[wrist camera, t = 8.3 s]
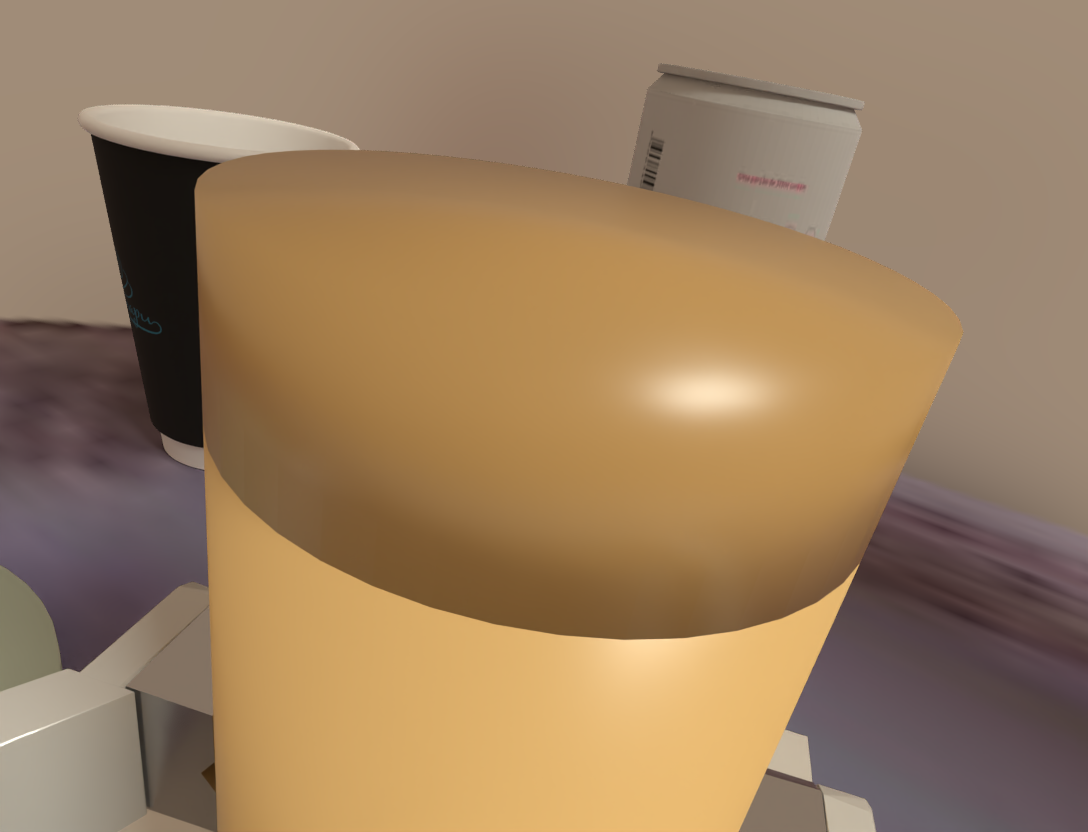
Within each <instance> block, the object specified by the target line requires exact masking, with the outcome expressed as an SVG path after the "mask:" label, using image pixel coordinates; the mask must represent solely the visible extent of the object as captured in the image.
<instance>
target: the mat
mask: <svg viewBox="0 0 1088 832" xmlns="http://www.w3.org/2000/svg"><path fill="white" fill-rule="evenodd" d="M59 671H62V664H61V657H60V651H59V645H58V641H57V637H56V633H55V629H54V625H53V621H52V619H51V618H50V616H49V614H48V612H47V610H46V608H45V606H44V604H43V603H42V601H41V600H40V599H39V597H38V596H37V595H36V594H35V593H34V592H33V591H32V589H31V588H30V587H29V586H28V585H27V584H26V583H25V582H24V581H22V580H21V579H20V578H18V577H17V576H16V575H14V574H13V573H12V572H10V571H9V570H8V569H6V568H4V567H2V566H0V692H1V691H4V690H7V689H10V688H13V687H16V686H18V685H21V684H24V683H27V682H30V681H33V680H36V679H39V678H42V677H45V676H47V675H50V674H53V673H56V672H59Z"/></svg>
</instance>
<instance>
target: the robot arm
mask: <svg viewBox="0 0 1088 832" xmlns="http://www.w3.org/2000/svg"><path fill="white" fill-rule="evenodd" d="M147 809H149V810H152V811H155V812H158V813H161V814H164V815H166V816H169V817H172V818H175V819H178V820H181V821H184V822H187V823H190V824H193V825H196V826H199V827H202V828H205V829H208V830H211V831H213V832H218V831H217V803H216V775H215V748H214V720H213V692H212V664H211V636H210V609H209V587H207V586H204V585H201V584H198V583H195V582H190V583H187V584H184V585H181V586H179V587H177V588H176V589H175V590H174V591H173V592H171V593H170V594H169V595H168V596H167V597H166V598H165V599H163V600H162V601H161V602H160V603H159V604H158V605H156V606H155V607H154V608H153V609H152V610H151V611H150V612H148V613H147V614H146V615H145V616H144V617H143V618H141V619H140V620H139V621H138V622H137V623H136V624H135V625H133V626H132V627H131V628H130V629H129V630H128V631H126V632H125V633H124V634H123V635H122V636H121V637H120V638H118V639H117V640H116V641H115V642H114V643H113V644H111V645H110V646H109V647H108V648H107V649H106V650H105V651H103V652H102V653H101V654H100V655H99V656H98V657H96V658H95V659H94V660H93V661H92V662H91V663H90V664H88V665H87V666H86V667H85V668H84V669H83V670H82V671H80V672H78V671H75V670H72V669H69V668H68V669H65V670H62V671H59V672H56V673H53V674H50V675H47V676H45V677H42V678H39V679H36V680H33V681H30V682H27V683H24V684H21V685H18V686H16V687H13V688H10V689H7V690H4V691H1V692H0V832H118V831H120V830H121V829H123V828H125V827H126V826H128V825H130V824H131V823H133V822H135V821H136V820H138V819H140V818H141V817H143V816H145V815H146V814H147ZM739 832H876V828H875V823H874V818H873V813H872V809H871V807H870V805H869V804H868V802H867V801H866V799H863V798H860V797H857V796H854V795H851V794H848V793H844V792H841V791H838V790H835V789H832V788H829V787H825V786H822V785H819V784H817V785H815V784H814V783H813V782H810V781H807V780H804V779H801V778H797V777H794V776H791V775H788V774H785V773H781V772H778V771H775V770H772V769H768V768H767V770H766V772H765V774H764V777H763V779H762V781H761V783H760V786H759V788H758V790H757V792H756V794H755V797H754V799H753V801H752V803H751V805H750V808H749V810H748V812H747V814H746V817H745V819H744V821H743V823H742V825H741V828H740V830H739Z"/></svg>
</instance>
